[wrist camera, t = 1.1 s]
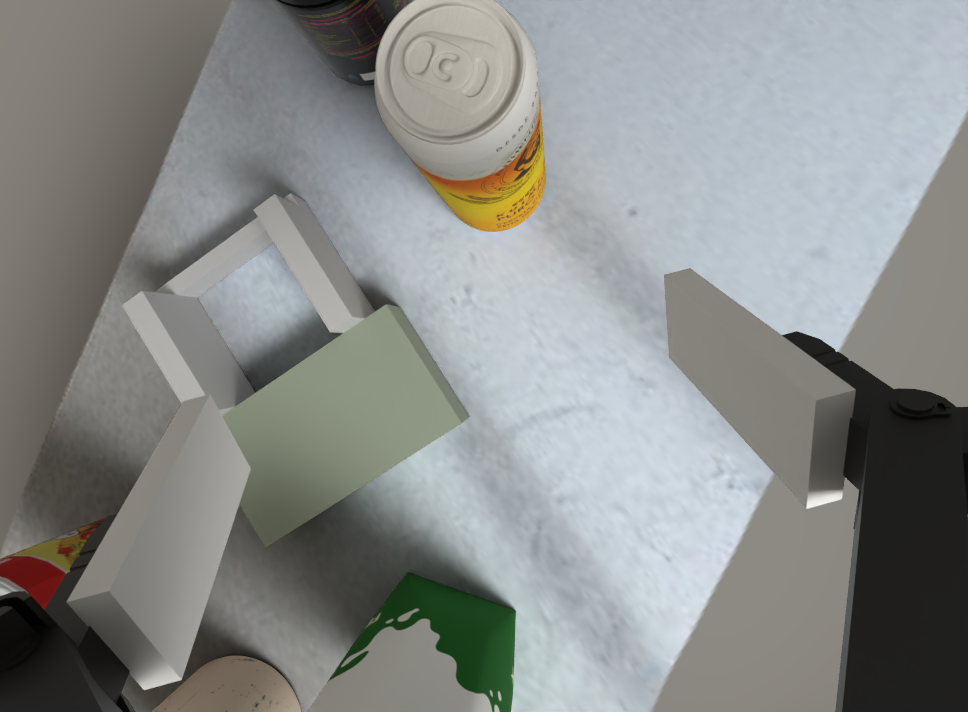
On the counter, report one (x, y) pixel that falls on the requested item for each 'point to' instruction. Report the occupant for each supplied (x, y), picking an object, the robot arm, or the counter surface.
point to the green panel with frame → (302, 375)
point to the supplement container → (344, 32)
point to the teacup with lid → (233, 689)
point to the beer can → (466, 107)
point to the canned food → (43, 564)
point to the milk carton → (427, 655)
